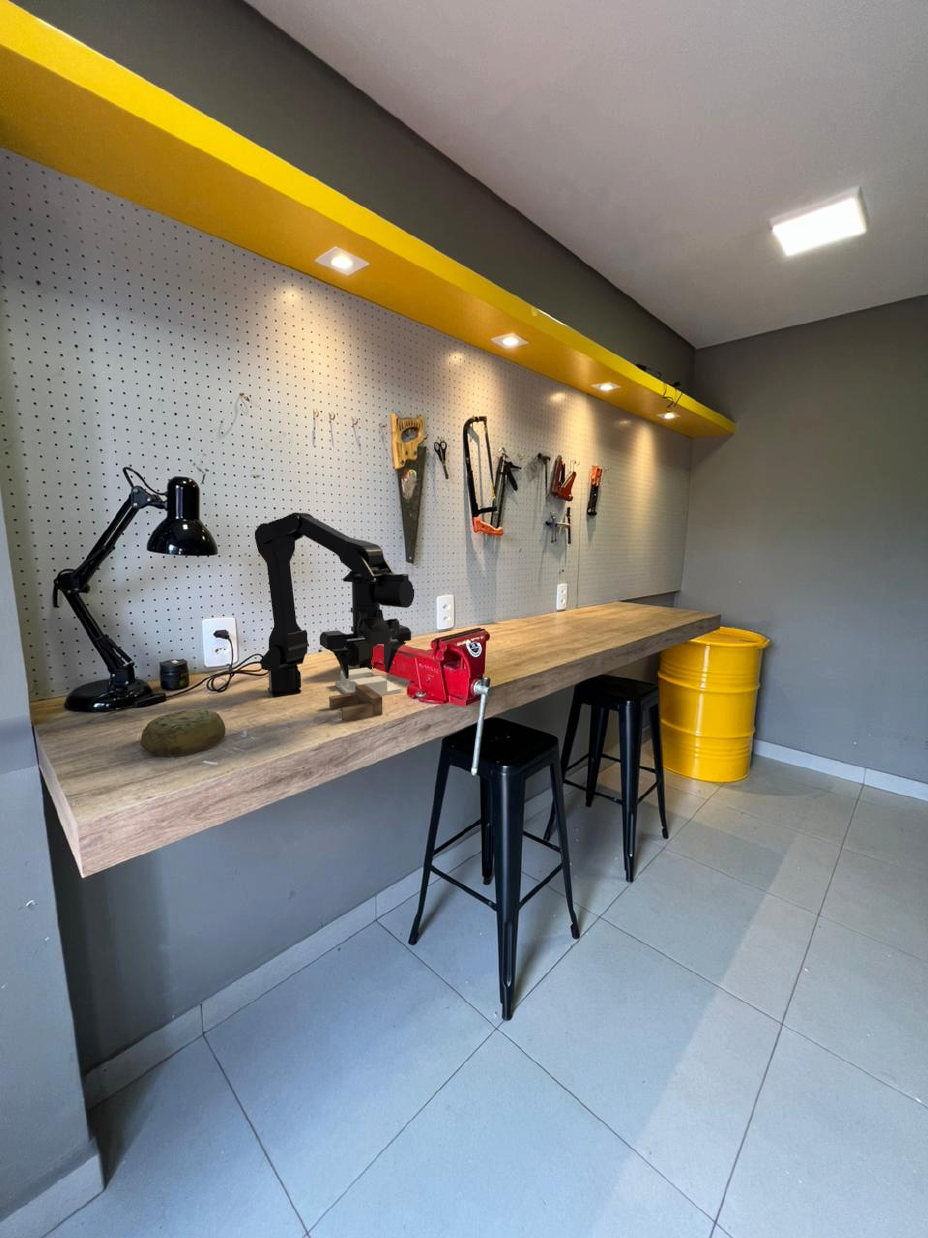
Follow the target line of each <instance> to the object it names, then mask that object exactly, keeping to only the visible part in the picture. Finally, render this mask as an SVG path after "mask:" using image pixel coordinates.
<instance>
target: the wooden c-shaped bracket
mask: <svg viewBox="0 0 928 1238" xmlns="http://www.w3.org/2000/svg"><path fill="white" fill-rule="evenodd" d="M328 698H329V699H328V702H329V705H328V706H329V709H330V710H332V711H334V709H335V710H340V709H341V720H342V721H343V722H344V723H348V722H355V721H358V720H365V719H368V717H369V718H373V716H374V717H378V715H379V716H382V715H381V714H383V695H382V696H380V695H379V694H378V693H376V692H375V691H373V690H372V689H371V688H369V687H368V686H366V685H365V684H362V685H356V686H355V692H353V693H347V694H345V693H342V694H335V695H330V696H328ZM339 708H340V709H339Z"/></svg>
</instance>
